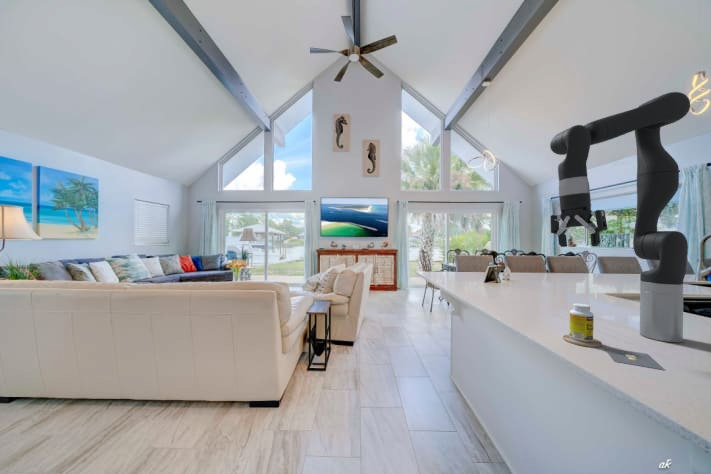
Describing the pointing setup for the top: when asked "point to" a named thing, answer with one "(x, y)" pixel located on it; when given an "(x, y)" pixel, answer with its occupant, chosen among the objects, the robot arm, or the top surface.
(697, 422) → the top surface
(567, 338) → the cork coaster
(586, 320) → the supplement bottle
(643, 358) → the gray board
